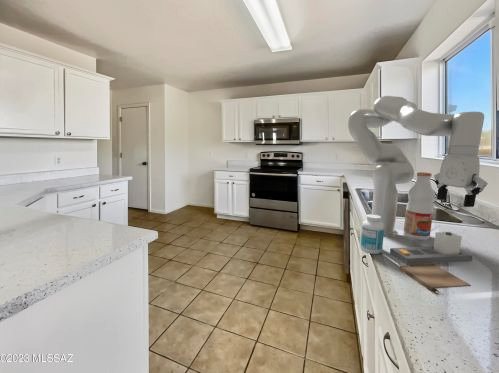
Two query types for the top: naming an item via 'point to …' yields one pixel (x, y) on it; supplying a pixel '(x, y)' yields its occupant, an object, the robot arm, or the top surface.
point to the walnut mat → (432, 276)
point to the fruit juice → (420, 208)
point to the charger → (447, 243)
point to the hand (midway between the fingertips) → (454, 202)
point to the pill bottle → (372, 235)
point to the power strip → (427, 255)
